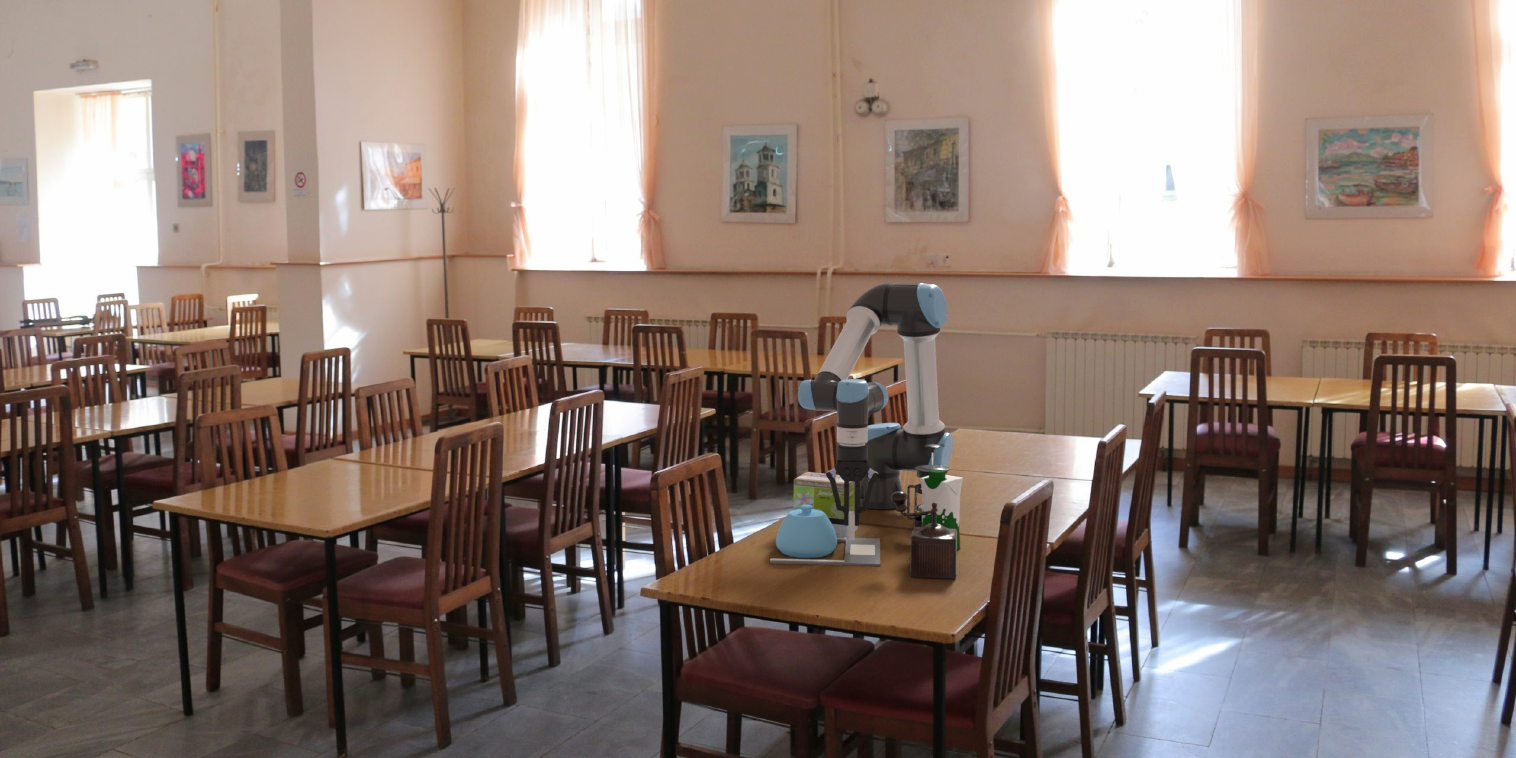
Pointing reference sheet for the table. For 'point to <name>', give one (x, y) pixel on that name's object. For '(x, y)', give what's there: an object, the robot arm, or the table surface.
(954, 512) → the milk carton
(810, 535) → the sugar bowl
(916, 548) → the brown manual coffee grinder
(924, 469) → the french press
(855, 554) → the label board
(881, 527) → the table surface
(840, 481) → the tea box
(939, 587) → the table surface
